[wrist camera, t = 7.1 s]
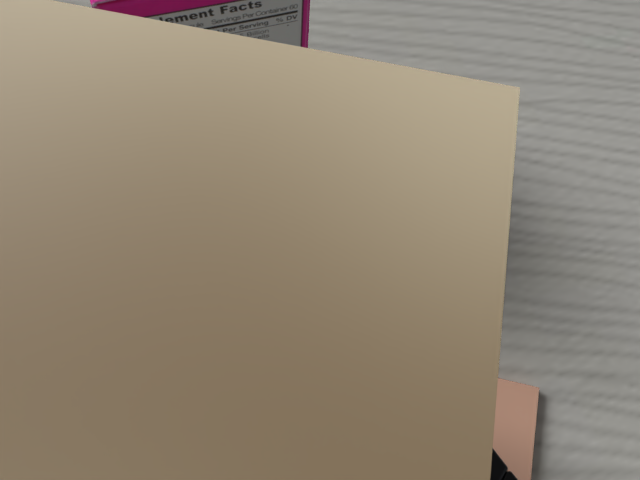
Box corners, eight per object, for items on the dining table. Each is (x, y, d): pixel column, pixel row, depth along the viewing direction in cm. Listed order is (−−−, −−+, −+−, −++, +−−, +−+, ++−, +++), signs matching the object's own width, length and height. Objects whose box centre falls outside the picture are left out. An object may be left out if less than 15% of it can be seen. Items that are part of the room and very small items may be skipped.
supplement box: (153, 76, 25) (52, -179, 14) (275, 53, 25) (272, -204, 15) (177, 187, 23) (85, -1, 12) (305, 158, 24) (327, -40, 13)
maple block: (315, 510, 14) (441, 1137, 2) (139, 476, 15) (-756, 890, 2) (345, 332, 16) (519, 87, 4) (186, 302, 16) (-179, -42, 4)
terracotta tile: (511, 606, 19) (518, 612, 19) (302, 557, 19) (302, 561, 19) (532, 387, 22) (539, 387, 21) (345, 343, 22) (347, 342, 21)
